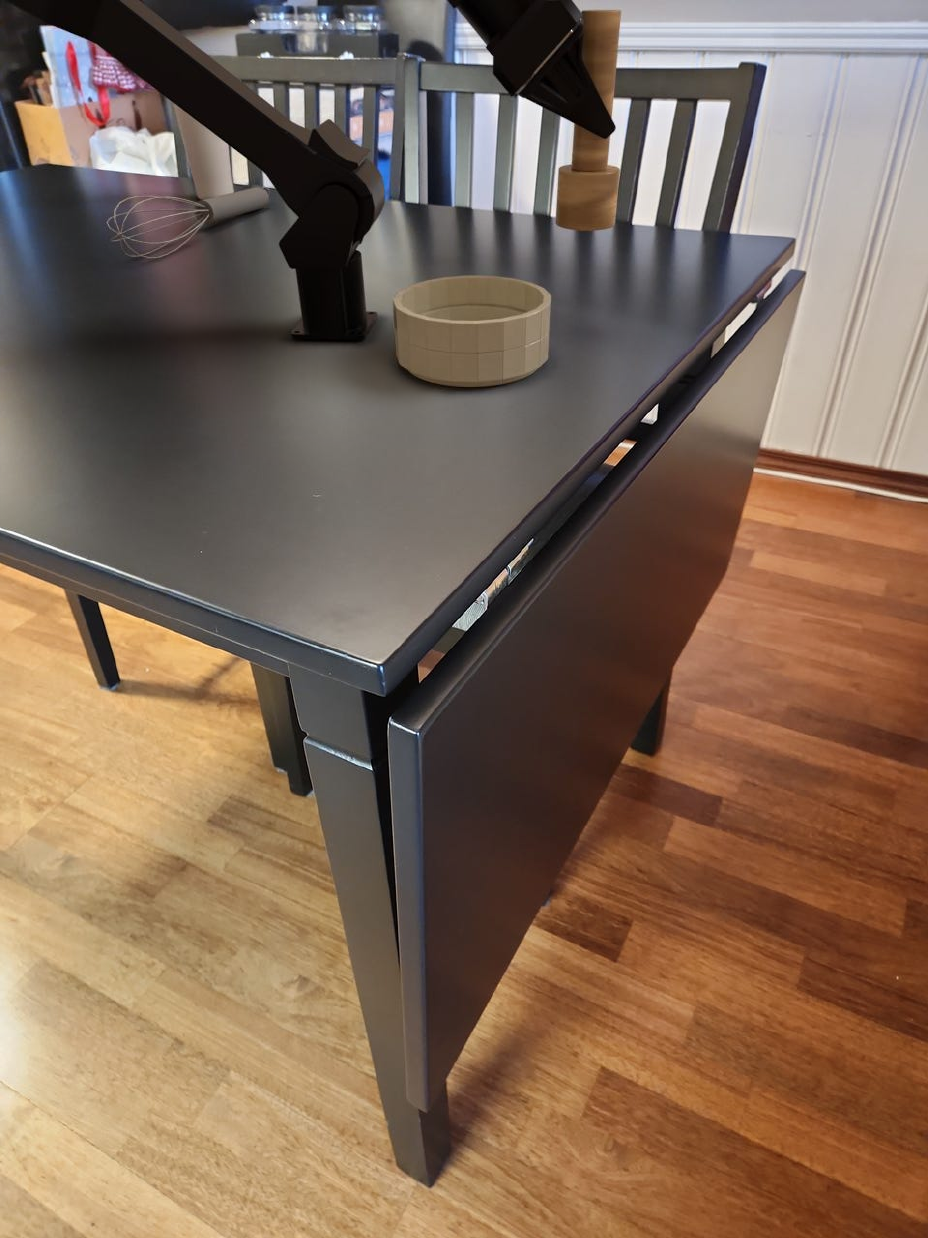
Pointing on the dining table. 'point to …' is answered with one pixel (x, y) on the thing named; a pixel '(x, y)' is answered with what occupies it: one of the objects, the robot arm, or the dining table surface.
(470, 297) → the bowl
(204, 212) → the kitchen whisk
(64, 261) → the dining table surface
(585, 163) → the pestle
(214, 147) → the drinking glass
